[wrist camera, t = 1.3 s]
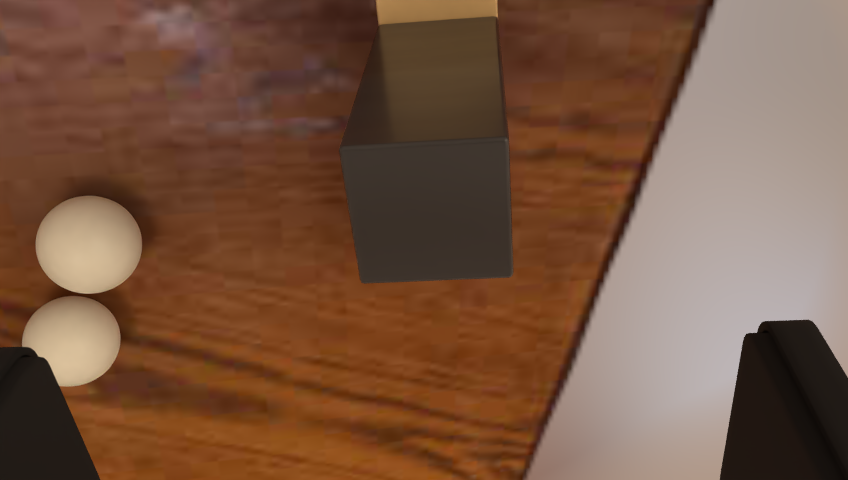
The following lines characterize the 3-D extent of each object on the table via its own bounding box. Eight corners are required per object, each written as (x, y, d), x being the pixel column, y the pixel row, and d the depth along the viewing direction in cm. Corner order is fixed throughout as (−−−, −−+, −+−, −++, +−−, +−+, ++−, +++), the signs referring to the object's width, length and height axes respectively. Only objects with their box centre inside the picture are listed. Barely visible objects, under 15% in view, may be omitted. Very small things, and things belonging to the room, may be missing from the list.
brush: (368, -190, 20) (291, -133, 11) (487, -202, 19) (499, -152, 11) (413, 217, 26) (386, 444, 18) (503, 212, 26) (519, 441, 17)
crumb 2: (35, 280, 28) (-11, 336, 26) (119, 276, 28) (82, 333, 25) (64, 347, 30) (24, 406, 27) (144, 344, 30) (111, 404, 27)
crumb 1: (48, 180, 26) (0, 232, 23) (141, 175, 26) (102, 226, 23) (79, 259, 28) (37, 315, 25) (166, 255, 28) (133, 311, 25)
